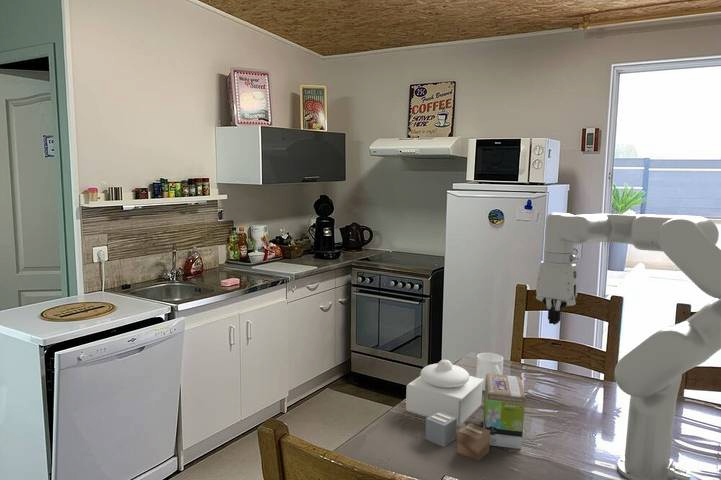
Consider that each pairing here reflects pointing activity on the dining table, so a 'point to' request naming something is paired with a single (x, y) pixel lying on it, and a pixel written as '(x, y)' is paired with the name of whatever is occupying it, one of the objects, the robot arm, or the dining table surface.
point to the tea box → (504, 410)
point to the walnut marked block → (473, 441)
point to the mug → (488, 365)
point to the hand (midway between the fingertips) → (553, 323)
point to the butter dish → (444, 392)
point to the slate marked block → (441, 428)
